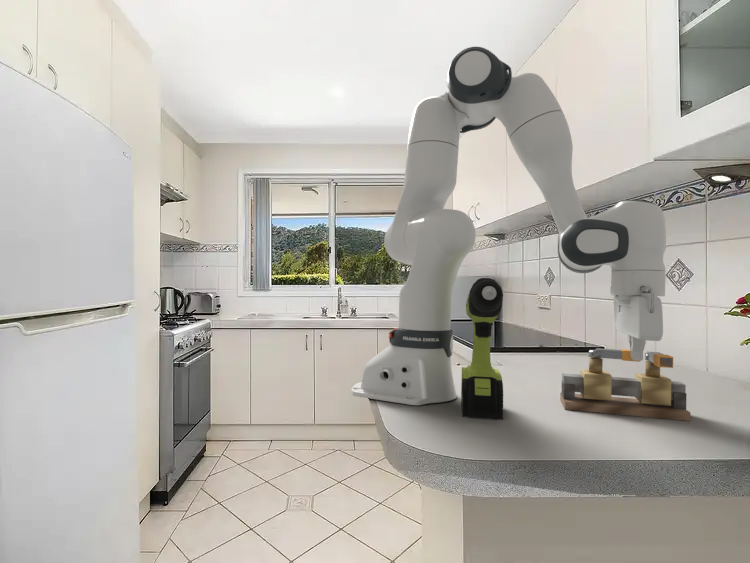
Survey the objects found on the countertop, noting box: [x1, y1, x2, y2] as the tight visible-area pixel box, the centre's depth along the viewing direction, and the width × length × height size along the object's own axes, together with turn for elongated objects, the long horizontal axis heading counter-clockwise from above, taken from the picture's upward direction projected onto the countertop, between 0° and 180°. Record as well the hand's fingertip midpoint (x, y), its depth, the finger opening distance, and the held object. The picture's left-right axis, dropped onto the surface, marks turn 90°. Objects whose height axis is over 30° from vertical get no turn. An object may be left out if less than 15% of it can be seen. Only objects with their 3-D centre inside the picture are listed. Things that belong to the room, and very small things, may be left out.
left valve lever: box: [588, 347, 641, 362], centre depth 88 cm, size 9×3×2 cm, turn 65°
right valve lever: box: [644, 351, 674, 369], centre depth 83 cm, size 9×3×2 cm, turn 163°
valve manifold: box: [559, 357, 691, 422], centre depth 88 cm, size 21×8×10 cm, turn 73°
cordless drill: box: [460, 277, 504, 420], centre depth 81 cm, size 23×7×25 cm, turn 170°
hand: (636, 360), depth 84 cm, fingers closed
